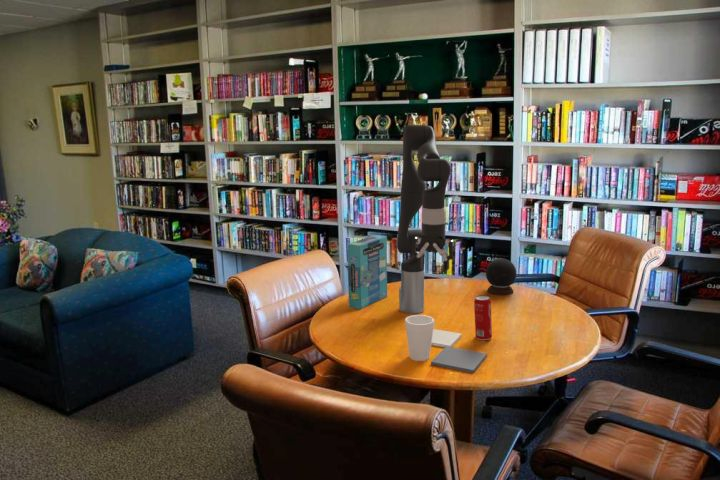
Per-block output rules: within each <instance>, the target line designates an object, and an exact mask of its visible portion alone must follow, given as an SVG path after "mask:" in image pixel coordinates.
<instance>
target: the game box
mask: <svg viewBox="0 0 720 480" xmlns="http://www.w3.org/2000/svg"><path fill="white" fill-rule="evenodd" d="M387 246H388V236H387V235H381V234H374V235H371V236H368V237H365V238H362V239H359V240H356V241H352V242H349V243H347V281H348V283H347V284H348V307H349V308H351V307H352V309H356V310H362V309H363V308H366V307H367V306H370V305H372V304H375V303H377V302H378V301H381V300H382V299H384V298H387V297H388V247H387Z"/></svg>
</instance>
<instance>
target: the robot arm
mask: <svg viewBox="0 0 720 480" xmlns="http://www.w3.org/2000/svg"><path fill="white" fill-rule="evenodd" d="M413 151H414V152H417V154H416V155H417V156H416V158H417V161H418V164H417V166H416V164H415V161H414V159H413V154H412V152H413ZM451 171H452V165H451V163H450V161H449V160H447V159H446V158H441V156H440V154H439V152H438V149H437V142H436V134H435V130H434V128H433V127H432V126H431V125H426V124H409V125H408V124H407V125H405V126H404V129H403V134H402V175H401V185H400V208H399V220H398V229H397V237H396V246H397V247H396V248H397V250H398V252H399V253H400V254H411V255H412V256H411V257H409V258H408V259H404V260H403V261H401V263H400V287H399V288H398V297H399V298H398V304H399V305H398V307H399V308H398V309H399V310H398V311H399V312H403V313H405V314H412V315H418V314H420V313H421V314H422V313H423V312H424V311H425V305H424V304H425V261H426V259H425V258H426V257H425V254H426V252H427V253H434V254H439V255H440V256H441V258H442V260H443V261H442V272H443V273H446V272H448V270H449V269H450V260H451V261H452V260H453V259H455V258H456V243H455V240H454V239H452V240H446V207H445V204H446V202H445V201H446V192H447V191H446V190H447V185H448V182H449V180H450V177H451ZM428 182H437V185H435V186H433V187H430V188H426V183H428ZM421 208H422V212H421V229H409V228H410V224H411V222H412V220H413V219H414V217H415V216H416V215H417V214H418V212H419V210H420V209H421ZM445 245H446V246H447V248H448V251H447V249H446V248H445Z"/></svg>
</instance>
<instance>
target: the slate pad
mask: <svg viewBox="0 0 720 480" xmlns="http://www.w3.org/2000/svg"><path fill="white" fill-rule="evenodd" d="M487 355H488V353H486V352H481V351H474V350H469V349H464V348H459V347H453V346H452V347H448V346H446V347H443V349H442V350H440V352H439V353H438V354H437V355H436V356H435V357H434V358H433V359H432V360H431V362H430V365H431V366H435V367H442V368H445V369H451V370H456V371H459V372H460V371H462V372H465V373H466V372H467V373H470V374H471V373H472V374H474V373H475V372H476V371H477V370H478V368H479V367H480V366H481V364H483V362H484V361H485V360H486V358H487V357H488V356H487Z"/></svg>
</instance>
